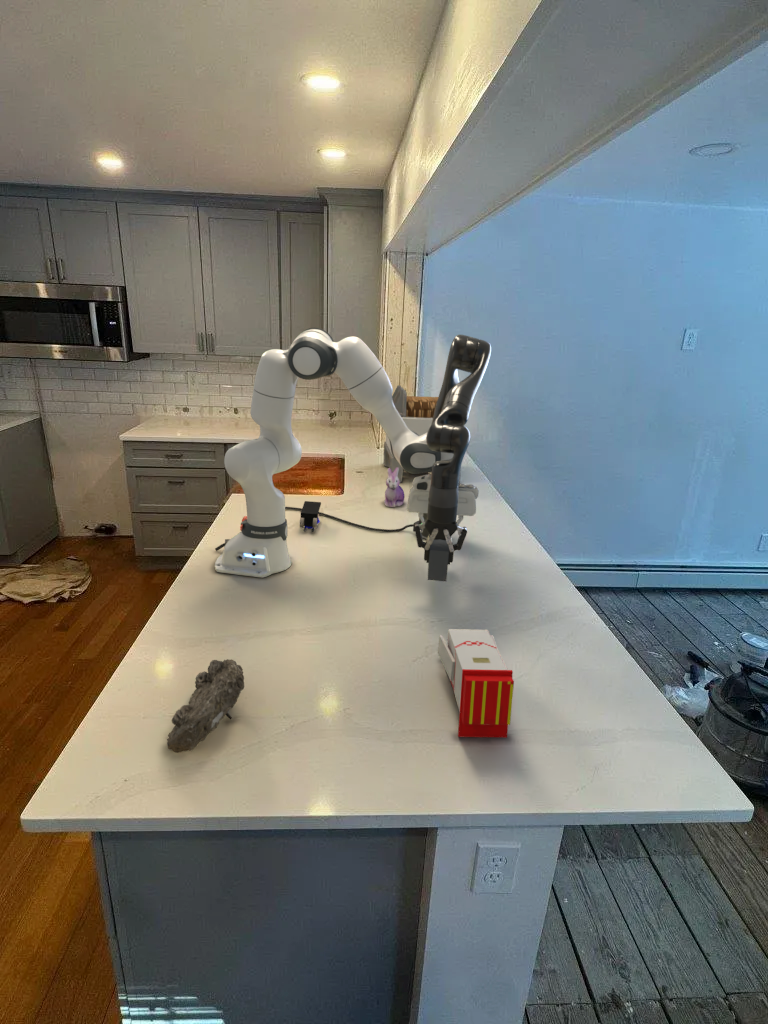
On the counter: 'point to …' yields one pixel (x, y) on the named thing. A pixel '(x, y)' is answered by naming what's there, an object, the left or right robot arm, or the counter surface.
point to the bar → (438, 560)
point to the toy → (478, 682)
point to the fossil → (206, 705)
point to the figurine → (393, 490)
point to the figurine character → (310, 515)
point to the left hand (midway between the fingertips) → (439, 527)
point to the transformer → (410, 421)
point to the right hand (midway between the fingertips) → (438, 562)
